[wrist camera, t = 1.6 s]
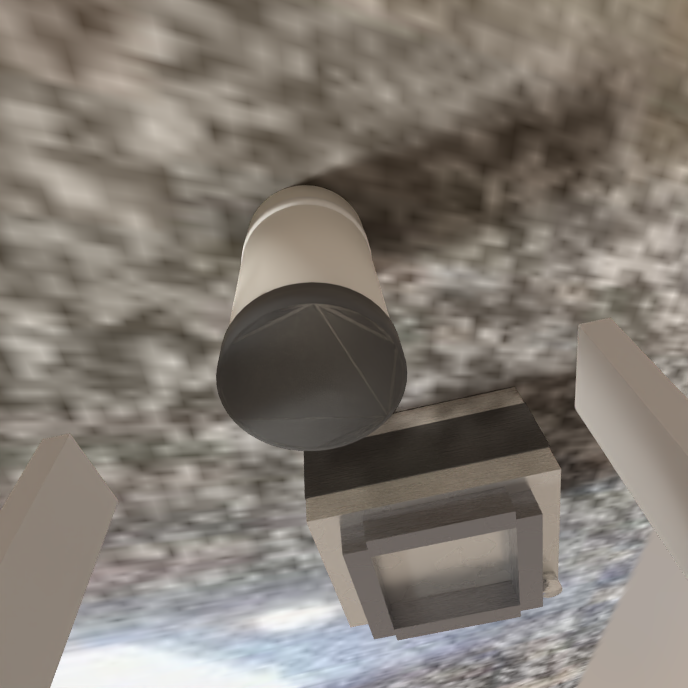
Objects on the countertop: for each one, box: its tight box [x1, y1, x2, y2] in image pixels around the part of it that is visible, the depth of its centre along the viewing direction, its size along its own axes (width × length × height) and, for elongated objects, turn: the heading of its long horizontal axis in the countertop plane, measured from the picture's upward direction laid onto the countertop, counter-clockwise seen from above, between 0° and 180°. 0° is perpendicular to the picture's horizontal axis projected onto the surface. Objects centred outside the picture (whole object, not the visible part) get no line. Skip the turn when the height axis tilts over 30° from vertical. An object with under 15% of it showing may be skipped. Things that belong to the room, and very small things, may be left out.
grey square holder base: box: [304, 387, 562, 640], centre depth 29 cm, size 12×10×7 cm
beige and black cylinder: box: [216, 185, 407, 451], centre depth 19 cm, size 5×5×10 cm
